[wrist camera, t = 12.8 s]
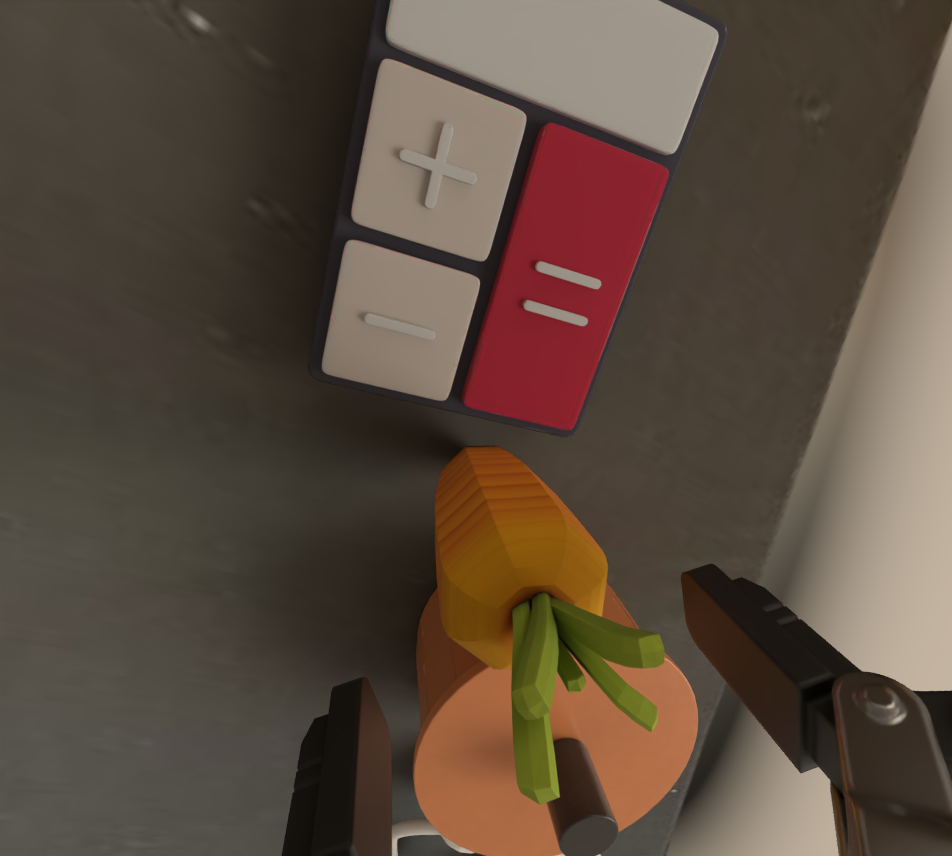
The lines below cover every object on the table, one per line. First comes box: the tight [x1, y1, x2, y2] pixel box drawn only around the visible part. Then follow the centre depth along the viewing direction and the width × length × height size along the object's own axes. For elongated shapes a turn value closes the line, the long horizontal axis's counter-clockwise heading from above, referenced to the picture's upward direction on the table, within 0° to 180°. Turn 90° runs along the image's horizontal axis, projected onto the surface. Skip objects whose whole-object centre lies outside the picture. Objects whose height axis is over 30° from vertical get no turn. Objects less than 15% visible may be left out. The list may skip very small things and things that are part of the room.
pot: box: [416, 582, 640, 728], centre depth 24 cm, size 11×11×7 cm
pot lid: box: [413, 653, 698, 856], centre depth 19 cm, size 12×12×4 cm
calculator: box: [308, 0, 727, 437], centre depth 18 cm, size 11×4×15 cm
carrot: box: [435, 446, 664, 805], centre depth 16 cm, size 5×5×15 cm
